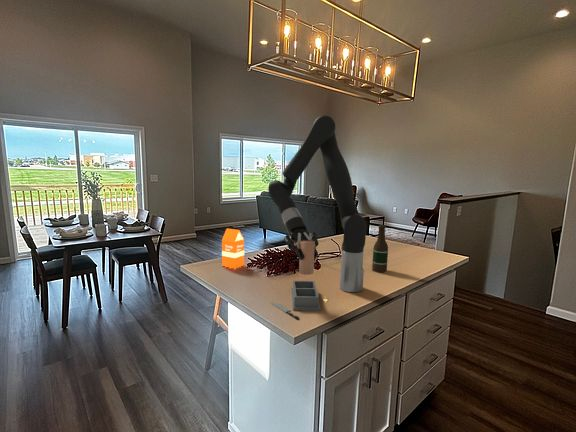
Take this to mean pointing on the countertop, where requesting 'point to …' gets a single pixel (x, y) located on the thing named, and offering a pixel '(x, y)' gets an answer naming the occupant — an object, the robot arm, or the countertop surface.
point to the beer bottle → (380, 252)
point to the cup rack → (305, 296)
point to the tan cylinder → (307, 257)
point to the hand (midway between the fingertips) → (309, 257)
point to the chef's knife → (285, 310)
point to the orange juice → (232, 249)
